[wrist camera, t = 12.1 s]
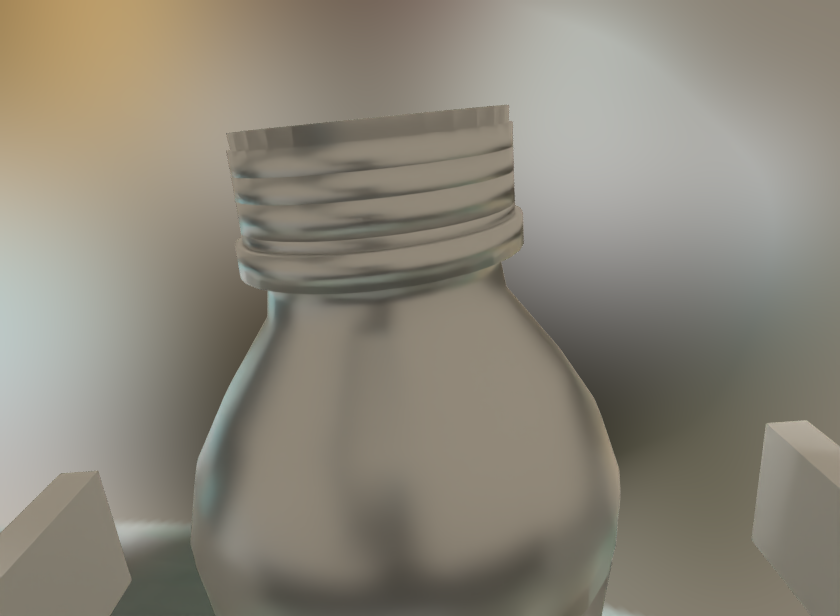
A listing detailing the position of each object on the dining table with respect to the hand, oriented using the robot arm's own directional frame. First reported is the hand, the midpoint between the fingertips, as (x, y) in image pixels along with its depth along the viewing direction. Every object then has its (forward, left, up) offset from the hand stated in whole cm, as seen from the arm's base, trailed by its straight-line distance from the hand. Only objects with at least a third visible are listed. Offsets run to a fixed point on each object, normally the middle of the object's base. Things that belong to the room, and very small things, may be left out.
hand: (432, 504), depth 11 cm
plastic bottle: (0, -2, -13) cm, 13 cm away
